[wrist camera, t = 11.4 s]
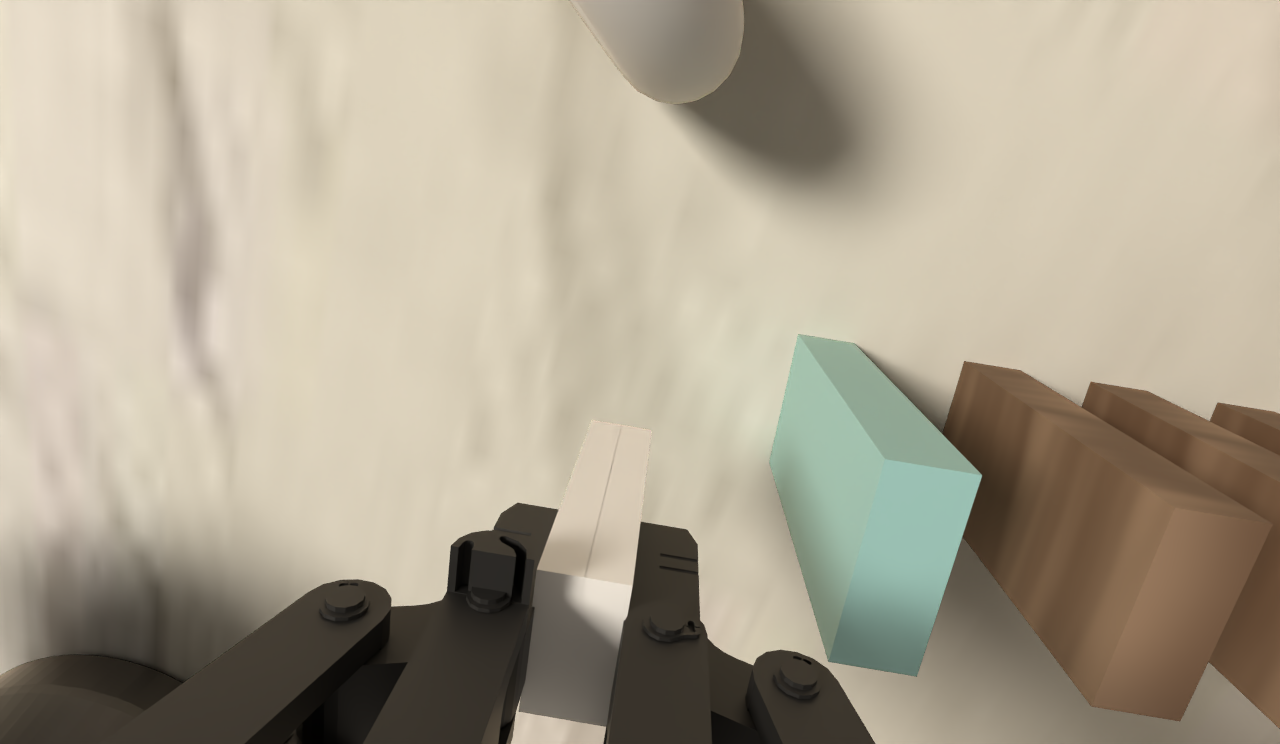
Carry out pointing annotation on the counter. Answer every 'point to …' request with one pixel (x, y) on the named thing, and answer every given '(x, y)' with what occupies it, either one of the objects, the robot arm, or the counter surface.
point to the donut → (668, 43)
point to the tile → (868, 505)
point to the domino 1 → (1100, 541)
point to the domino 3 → (1250, 424)
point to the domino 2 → (1249, 474)
